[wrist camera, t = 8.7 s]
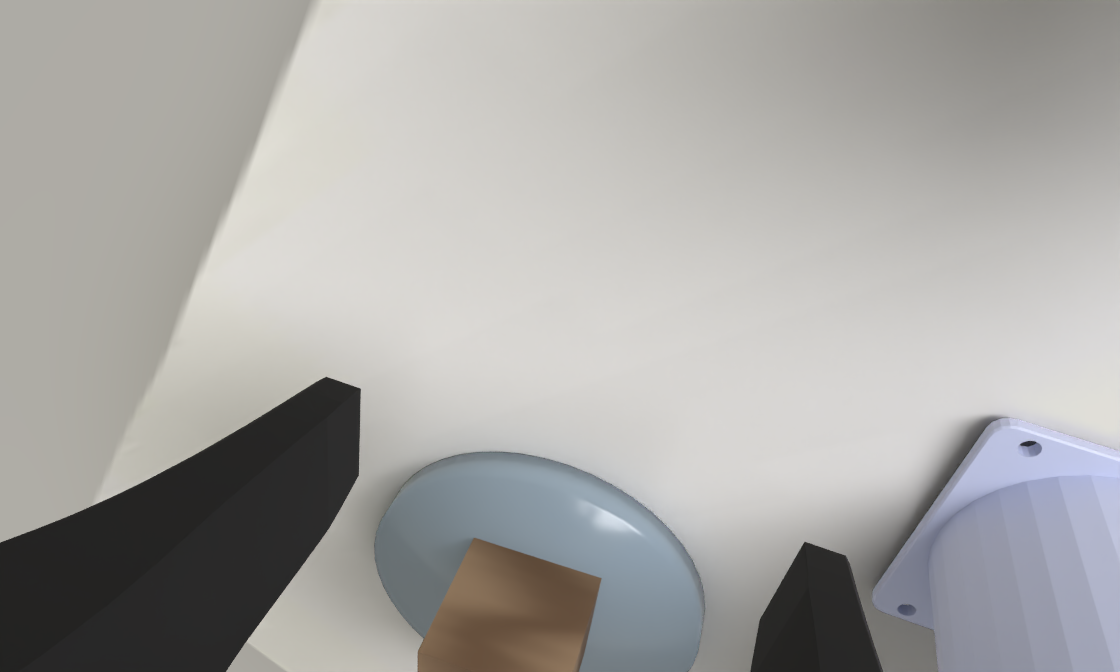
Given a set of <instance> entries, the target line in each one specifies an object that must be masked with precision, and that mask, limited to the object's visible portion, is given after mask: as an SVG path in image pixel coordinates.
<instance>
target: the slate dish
mask: <svg viewBox="0 0 1120 672" xmlns="http://www.w3.org/2000/svg"><path fill="white" fill-rule="evenodd" d="M474 538H477V539H481V540H484V541H487V542H490V543H493V544H496V545H499V546H502V547H506V548H509V549H512V550H515V551H518V552H521V553H524V554H527V555H531V556H534V557H537V558H540V559H543V560H546V561H549V562H552V563H556V564H559V565H562V566H565V567H568V568H571V569H574V570H577V571H581V572H584V573H587V574H590V575H593V576H596V577H599V578H602V579H601V583H600V588H599V592H598V596H597V601H596V605H595V609H594V614H593V618H592V622H591V627H590V631H589V635H588V640H587V644H586V648H585V653H584V656H583V660H582V663H581V666H580V670H579V672H688V671H689V670H690V668H691V667H692V665H693V663H694V661H695V658H696V655H697V653H698V648H699V643H700V637H701V631H702V625H703V619H704V612H705V600H704V591H703V587H702V583H701V580H700V576H699V574H698V572H697V570H696V567H695V565H694V563H693V561H692V559H691V558H690V556H689V555H688V553H687V551H686V550H685V548H684V547H683V545H682V544H681V543H680V541H679V540H678V539H677V538H676V537H675V535H674V534H673V533H672V532H671V531H670V529H669V528H668V527H667V526H666V525H665V524H664V523H663V522H662V521H660V520H659V519H658V518H657V517H656V516H655V515H654V514H653V513H652V512H651V511H649V510H648V509H647V508H646V507H644V506H643V505H642V504H640V503H639V502H638V501H636V500H635V499H634V498H632V497H631V496H629V495H628V494H626V493H624V492H623V491H621V490H620V489H618V488H616V487H615V486H613V485H611V484H609V483H607V482H605V481H603V480H601V479H599V478H597V477H595V476H593V475H591V474H589V473H586V472H584V471H581V470H579V469H576V468H574V467H571V466H569V465H565V464H562V463H559V462H555V461H552V460H549V459H545V458H540V457H535V456H530V455H525V454H516V453H506V452H477V453H469V454H462V455H457V456H453V457H450V458H446V459H442V460H440V461H437V462H435V463H433V464H431V465H429V466H426V467H425V468H423V469H422V470H420V471H419V472H417V473H416V474H414V475H413V476H412V477H411V478H410V479H409V480H408V481H407V482H406V483H405V484H404V485H403V487H402V488H401V490H400V491H399V493H398V494H397V496H396V497H395V499H394V501H393V502H392V504H391V505H390V507H389V508H388V510H387V512H386V513H385V515H384V516H383V518H382V520H381V522H380V524H379V527H378V530H377V532H376V538H375V545H374V548H375V561H376V565H377V570H378V574H379V576H380V579H381V581H382V584H383V586H384V588H385V590H386V592H387V594H388V596H389V598H390V599H391V601H392V602H393V604H394V605H395V607H396V608H397V610H398V611H399V612H400V614H401V615H402V616H403V617H404V618H405V620H406V621H407V622H408V623H409V624H410V625H411V627H412V628H413V629H414V630H415V631H416V632H418V633H419V634H420V635H421V636H422V637H423V638H425V636H426V634H427V632H428V630H429V628H430V626H431V624H432V622H433V620H434V618H435V616H436V614H437V612H438V610H439V608H440V606H441V604H442V602H443V600H444V598H445V595H446V593H447V591H448V589H449V587H450V585H451V583H452V581H453V579H454V577H455V575H456V573H457V571H458V569H459V567H460V565H461V563H462V561H463V559H464V557H465V555H466V553H467V551H468V549H469V547H470V545H471V543H472V541H473V539H474Z"/></svg>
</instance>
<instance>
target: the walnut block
mask: <svg viewBox="0 0 1120 672" xmlns="http://www.w3.org/2000/svg"><path fill="white" fill-rule="evenodd" d="M601 579H602V578H599V577H596V576H593V575H590V574H587V573H584V572H581V571H577V570H574V569H571V568H568V567H565V566H562V565H559V564H556V563H552V562H549V561H546V560H543V559H540V558H537V557H534V556H531V555H527V554H524V553H521V552H518V551H515V550H512V549H509V548H506V547H502V546H499V545H496V544H493V543H490V542H487V541H484V540H481V539H477V538H474V539H473V541H472V543H471V545H470V547H469V549H468V551H467V553H466V555H465V557H464V559H463V561H462V563H461V565H460V567H459V569H458V571H457V573H456V575H455V577H454V579H453V581H452V583H451V585H450V587H449V589H448V591H447V593H446V595H445V598H444V600H443V602H442V604H441V606H440V608H439V610H438V612H437V614H436V616H435V618H434V620H433V622H432V624H431V626H430V628H429V630H428V632H427V634H426V636H425V638H424V640H423V642H422V644H421V646H420V648H419V650H418V672H579V670H580V666H581V663H582V660H583V656H584V653H585V648H586V644H587V640H588V635H589V631H590V627H591V622H592V618H593V614H594V609H595V605H596V601H597V596H598V592H599V588H600V583H601Z"/></svg>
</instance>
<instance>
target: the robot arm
mask: <svg viewBox="0 0 1120 672" xmlns="http://www.w3.org/2000/svg"><path fill="white" fill-rule="evenodd" d="M360 394H361V389H360V388H357V387H354V386H351V385H348V384H345V383H342V382H339V381H337V380H334V379H331V378H328V377H325V378H323V379H321V380H319V381H317V382H316V383H314V384H313V385H311V386H309V387H308V388H306V389H304V390H303V391H301V392H300V393H298V394H296V395H295V396H293V397H292V398H290V399H288V400H287V401H285V402H283V403H282V404H280V405H279V406H277V407H275V408H274V409H272V410H271V411H269V412H267V413H266V414H264V415H262V416H261V417H259V418H257V419H256V420H254V421H253V422H251V423H249V424H248V425H246V426H244V427H242V428H241V429H239V430H237V431H236V432H234V433H232V434H230V435H229V436H227V437H225V438H224V439H222V440H220V441H218V442H217V443H215V444H213V445H212V446H210V447H208V448H206V449H205V450H203V451H201V452H199V453H197V454H196V455H194V456H192V457H190V458H188V459H186V460H184V461H182V462H181V463H179V464H177V465H175V466H173V467H171V468H169V469H167V470H165V471H163V472H162V473H160V474H158V475H156V476H154V477H152V478H150V479H148V480H146V481H144V482H142V483H140V484H138V485H136V486H134V487H132V488H130V489H128V490H126V491H124V492H122V493H120V494H118V495H115V496H113V497H111V498H109V499H107V500H105V501H102V502H100V503H98V504H96V505H93V506H91V507H89V508H87V509H84V510H82V511H80V512H78V513H75V514H73V515H70V516H68V517H66V518H63V519H61V520H58V521H56V522H53V523H51V524H48V525H46V526H43V527H41V528H38V529H36V530H33V531H30V532H27V533H25V534H22V535H20V536H17V537H14V538H12V539H9V540H6V541H3V542H1V543H0V672H226V670H227V669H228V667H229V666H230V665H231V663H232V661H233V660H234V659H235V657H236V655H237V654H238V653H239V651H240V650H241V648H242V647H243V645H244V644H245V642H246V641H247V640H248V638H249V637H250V636H251V634H252V633H253V632H254V630H255V629H256V627H257V626H258V625H259V623H260V622H261V621H262V619H263V618H264V617H265V615H266V614H267V613H268V611H269V610H270V608H271V607H272V606H273V604H274V603H275V602H276V600H277V599H278V598H279V596H280V595H281V594H282V592H283V591H284V590H285V588H286V587H287V585H288V584H289V583H290V581H291V580H292V579H293V577H294V576H295V575H296V573H297V572H298V571H299V569H300V568H301V566H302V565H303V564H304V562H305V561H306V560H307V558H308V557H309V555H310V554H311V553H312V551H313V550H314V549H315V547H316V546H317V544H318V543H319V542H320V540H321V539H322V538H323V536H324V535H325V533H326V532H327V530H328V529H329V527H330V526H331V524H332V522H333V520H334V519H335V517H336V515H337V514H338V512H339V510H340V508H341V507H342V505H343V503H344V501H345V499H346V498H347V496H348V494H349V492H350V490H351V488H352V487H353V485H354V483H355V481H356V479H357V477H358V476H359V438H360ZM1026 441H1036V442H1037V443H1036V444H1034V445H1032V446H1028V447H1026V446H1021V445H1020V444H1021V443H1022V442H1026ZM872 602H873V605H874V606H875V607H876V608H877V609H878V610H880V611H882V612H884V613H886V614H889V615H892V616H895V617H898V618H901V619H903V620H906V621H909V622H912V623H915V624H918V625H920V626H923V627H926V628H929V629H932V630H934V634H935V644H936V654H937V664H938V672H1120V451H1117V450H1114V449H1111V448H1108V447H1105V446H1101V445H1098V444H1095V443H1092V442H1089V441H1085V440H1082V439H1079V438H1076V437H1073V436H1070V435H1066V434H1063V433H1060V432H1057V431H1054V430H1050V429H1047V428H1044V427H1041V426H1038V425H1034V424H1031V423H1028V422H1025V421H1022V420H1018V419H1013V418H1002V419H998V420H996V421H993V422H991V423H990V424H989V425H988V426H987V427H986V429H985V430H984V431H983V433H982V434H981V436H980V437H979V439H978V440H977V441H976V443H975V444H974V446H973V447H972V449H971V450H970V452H969V453H968V454H967V456H966V457H965V459H964V460H963V462H962V463H961V464H960V466H959V467H958V469H957V470H956V472H955V473H954V474H953V476H952V477H951V479H950V480H949V482H948V483H947V484H946V486H945V487H944V489H943V490H942V492H941V493H940V494H939V496H938V497H937V499H936V500H935V502H934V503H933V504H932V506H931V507H930V509H929V510H928V512H927V513H926V514H925V516H924V517H923V519H922V520H921V522H920V523H919V524H918V526H917V527H916V529H915V530H914V532H913V533H912V534H911V536H910V537H909V539H908V540H907V542H906V543H905V545H904V546H903V547H902V549H901V550H900V552H899V553H898V555H897V556H896V557H895V559H894V560H893V562H892V563H891V565H890V566H889V567H888V569H887V570H886V572H885V573H884V575H883V576H882V577H881V579H880V580H879V582H878V583H877V585H876V586H875V587H874V589H873V592H872ZM903 604H909V605H903ZM751 672H883V670H882V667H881V664H880V661H879V658H878V655H877V653H876V650H875V647H874V643H873V640H872V637H871V634H870V631H869V628H868V625H867V622H866V618H865V615H864V612H863V608H862V605H861V602H860V598H859V595H858V592H857V588H856V585H855V581H854V577H853V574H852V570H851V566H850V563H849V561H848V559H847V558H846V556H844V555H842V554H839V553H836V552H833V551H830V550H827V549H824V548H821V547H818V546H815V545H813V544H810V543H807V542H804V544H803V546H802V547H801V549H800V551H799V553H798V554H797V556H796V558H795V560H794V561H793V563H792V565H791V566H790V568H789V570H788V572H787V573H786V575H785V577H784V579H783V580H782V582H781V584H780V586H779V587H778V589H777V591H776V593H775V594H774V596H773V598H772V600H771V601H770V603H769V605H768V607H767V608H766V610H765V612H764V614H763V615H762V617H761V619H760V622H759V628H758V633H757V638H756V644H755V649H754V654H753V660H752V666H751Z"/></svg>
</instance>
